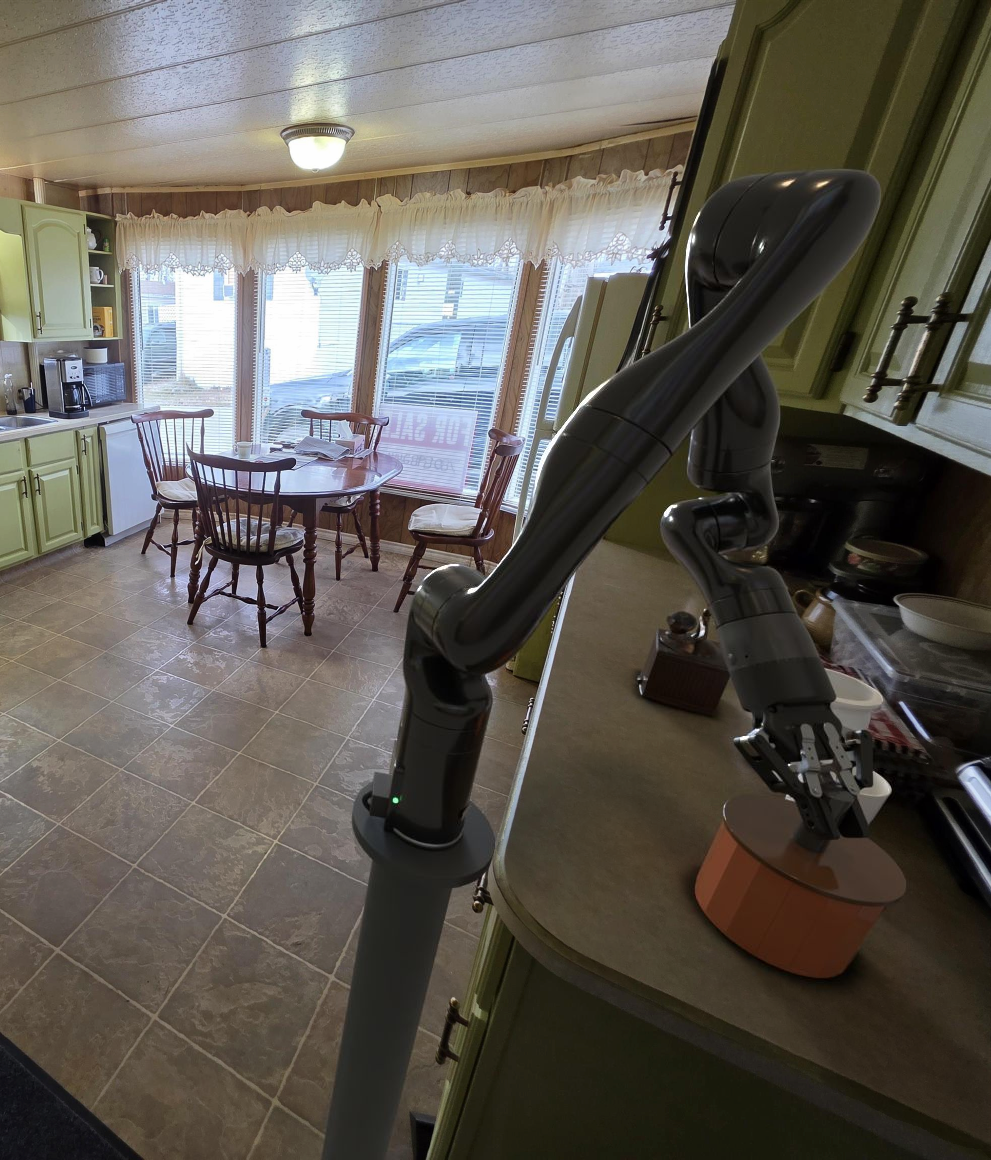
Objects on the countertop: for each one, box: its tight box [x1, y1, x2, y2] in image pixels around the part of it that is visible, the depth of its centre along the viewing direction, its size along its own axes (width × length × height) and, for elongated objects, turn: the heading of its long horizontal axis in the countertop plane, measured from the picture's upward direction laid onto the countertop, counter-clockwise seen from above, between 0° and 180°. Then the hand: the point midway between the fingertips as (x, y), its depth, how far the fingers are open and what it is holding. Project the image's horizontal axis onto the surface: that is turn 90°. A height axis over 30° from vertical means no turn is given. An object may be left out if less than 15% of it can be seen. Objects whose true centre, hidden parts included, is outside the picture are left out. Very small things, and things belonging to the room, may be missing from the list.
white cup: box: [784, 760, 893, 826], centre depth 75 cm, size 8×8×10 cm
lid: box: [721, 783, 907, 907], centre depth 61 cm, size 14×14×8 cm
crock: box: [694, 820, 889, 979], centre depth 64 cm, size 13×13×10 cm
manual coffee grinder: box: [636, 608, 731, 717], centre depth 102 cm, size 16×11×18 cm
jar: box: [773, 667, 884, 779], centre depth 86 cm, size 11×10×15 cm
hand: (841, 837), depth 59 cm, fingers closed on lid, 2 cm apart
